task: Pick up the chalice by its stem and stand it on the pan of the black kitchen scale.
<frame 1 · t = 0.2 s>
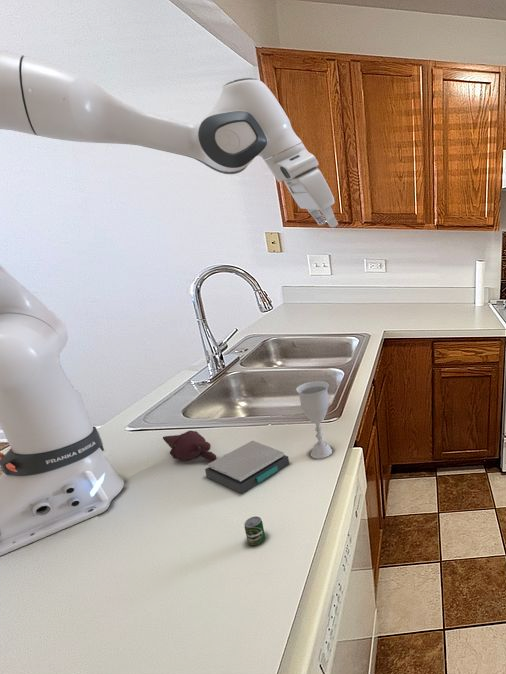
hand: (328, 225, 93), 54 cm above the table, tool tilted 30°, fingers open, 8 cm apart
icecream: (190, 457, 96), on the table
chalice: (321, 453, 99), on the table
scale: (249, 470, 91), on the table
beer can: (257, 541, 73), on the table
scale pan: (247, 459, 90), point 3 cm above the table, slide at 0.0 cm
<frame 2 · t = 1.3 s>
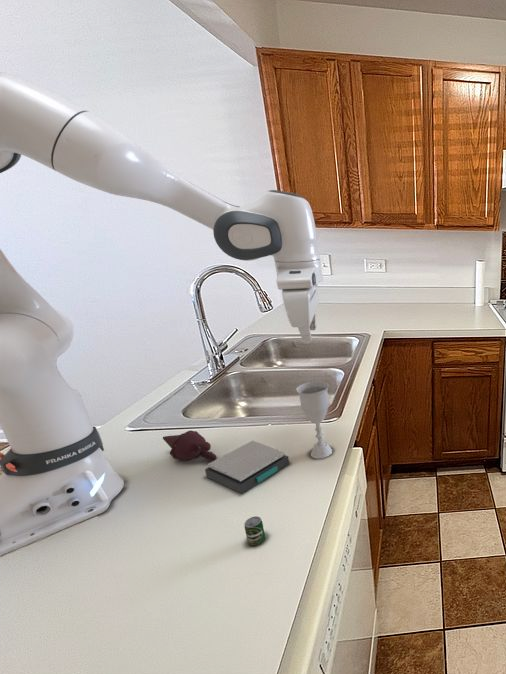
hand: (309, 335, 89), 30 cm above the table, tool pointing down, fingers open, 8 cm apart
nothing on the table moved.
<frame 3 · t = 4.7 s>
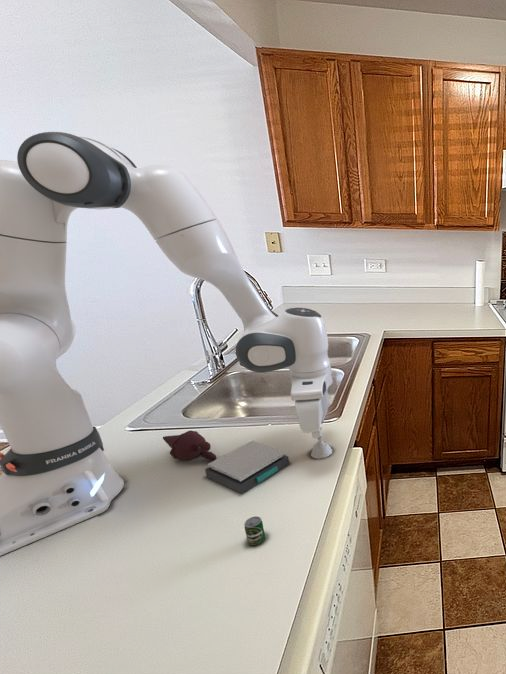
hand: (318, 429, 97), 7 cm above the table, tool pointing down, fingers closed on chalice, 5 cm apart
chalice: (321, 453, 99), on the table, touching gripper
everything else where it was.
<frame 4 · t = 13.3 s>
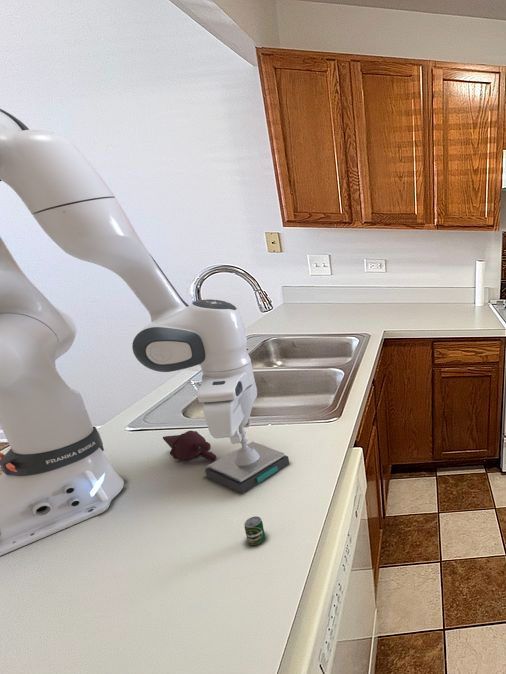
hand: (241, 433, 88), 10 cm above the table, tool pointing down, fingers closed on chalice, 5 cm apart
chalice: (247, 459, 90), point 3 cm above the table, touching gripper, scale pan
scale pan: (247, 460, 90), point 3 cm above the table, slide at -0.3 cm, touching chalice
everything else where it was.
when the fingers open (10 cm above the table, at t = 13.6 s): chalice stays where it is, resting on scale pan.
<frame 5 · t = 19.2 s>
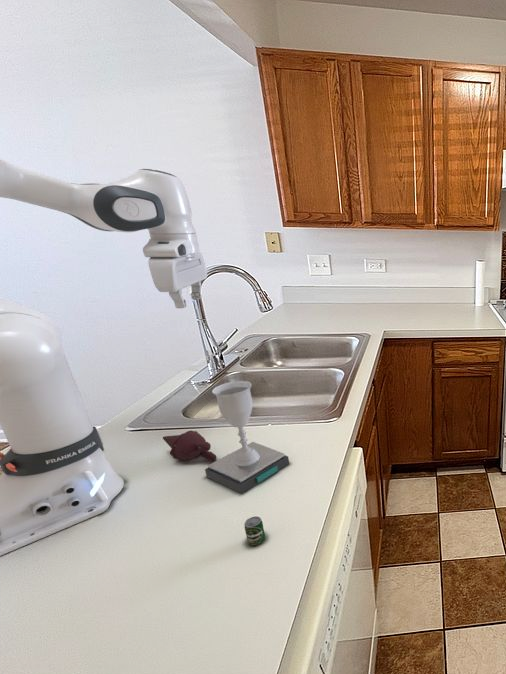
hand: (189, 303, 98), 34 cm above the table, tool pointing down, fingers open, 8 cm apart
chalice: (247, 459, 90), point 3 cm above the table, touching scale pan
everything else where it was.
at the end: chalice inside the target area on the scale (0.1 cm from its centre), point 2.9 cm above the scale's base; chalice tilted 0° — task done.
